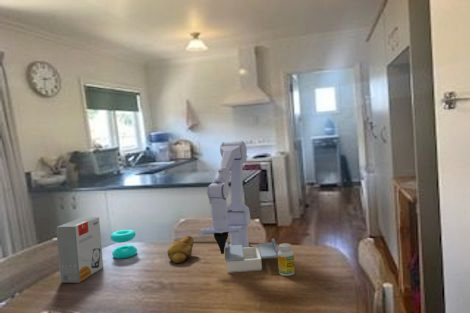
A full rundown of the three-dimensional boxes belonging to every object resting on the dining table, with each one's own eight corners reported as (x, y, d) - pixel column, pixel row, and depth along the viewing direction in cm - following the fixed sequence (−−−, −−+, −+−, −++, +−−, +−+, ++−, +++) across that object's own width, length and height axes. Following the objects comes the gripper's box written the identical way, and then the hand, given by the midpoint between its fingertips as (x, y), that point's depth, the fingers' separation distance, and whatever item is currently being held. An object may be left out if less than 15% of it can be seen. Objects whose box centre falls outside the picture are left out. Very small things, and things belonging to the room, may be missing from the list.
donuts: (130, 234, 150) (106, 236, 150) (133, 258, 150) (108, 260, 151) (138, 228, 159) (115, 229, 160) (140, 250, 160) (117, 252, 161)
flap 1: (225, 247, 142) (225, 242, 142) (241, 246, 142) (241, 240, 142) (225, 261, 127) (224, 255, 127) (243, 259, 127) (243, 253, 127)
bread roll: (186, 265, 139) (185, 244, 138) (162, 265, 141) (160, 244, 140) (196, 253, 152) (194, 234, 151) (173, 253, 153) (171, 234, 153)
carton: (227, 258, 142) (226, 248, 142) (258, 256, 142) (257, 246, 142) (227, 272, 128) (226, 261, 128) (261, 270, 128) (261, 259, 128)
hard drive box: (79, 283, 128) (73, 227, 127) (60, 283, 130) (54, 227, 128) (104, 266, 143) (99, 216, 142) (86, 266, 145) (81, 216, 143)
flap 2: (258, 245, 142) (257, 239, 142) (274, 244, 142) (274, 238, 142) (261, 258, 127) (261, 252, 127) (279, 257, 127) (279, 250, 127)
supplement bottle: (285, 268, 128) (283, 241, 127) (298, 272, 124) (296, 244, 123) (275, 273, 124) (273, 245, 124) (288, 277, 120) (286, 248, 120)
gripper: (198, 220, 130) (201, 258, 131) (240, 217, 130) (242, 255, 131) (200, 215, 137) (203, 251, 138) (239, 212, 137) (242, 248, 138)
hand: (222, 253), depth 135 cm, fingers closed
